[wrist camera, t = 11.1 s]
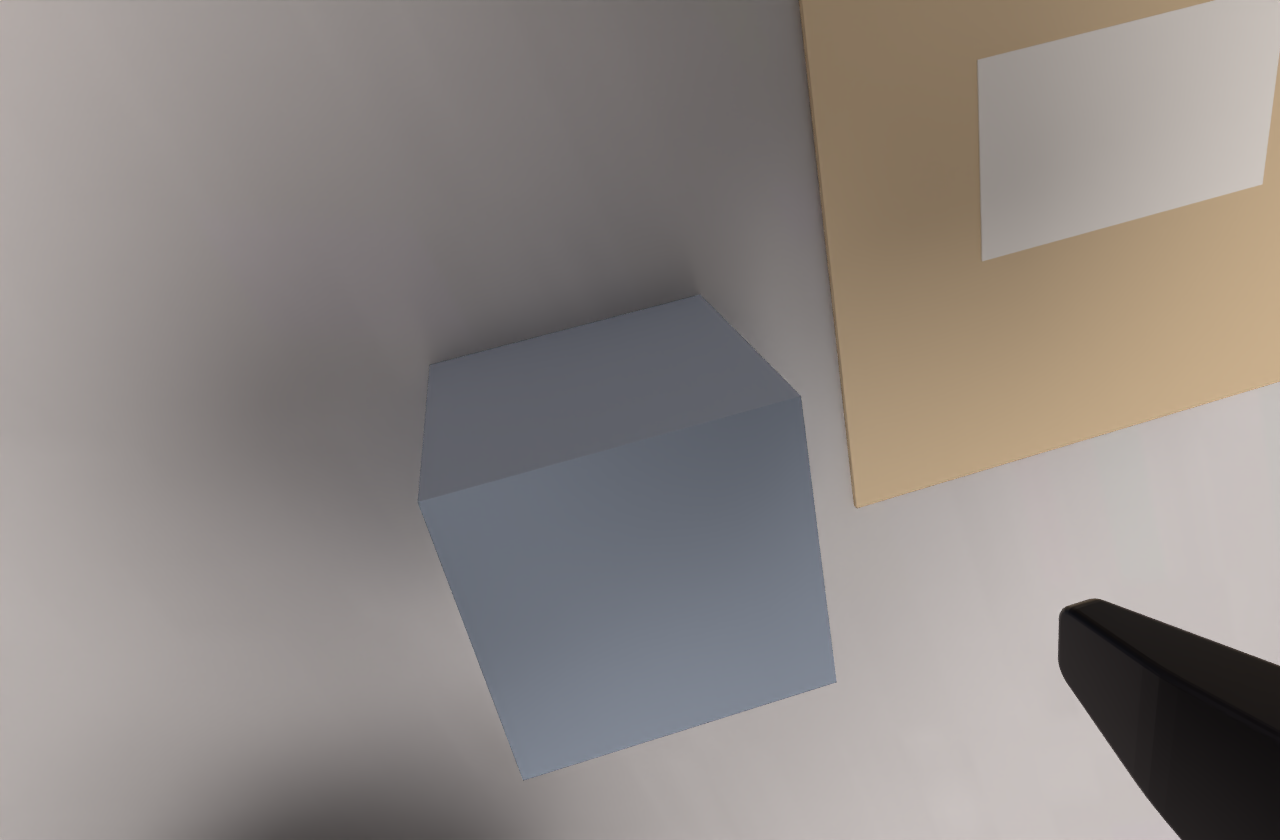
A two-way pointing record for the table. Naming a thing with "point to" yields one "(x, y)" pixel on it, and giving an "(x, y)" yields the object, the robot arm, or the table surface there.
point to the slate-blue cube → (626, 530)
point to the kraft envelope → (1041, 220)
